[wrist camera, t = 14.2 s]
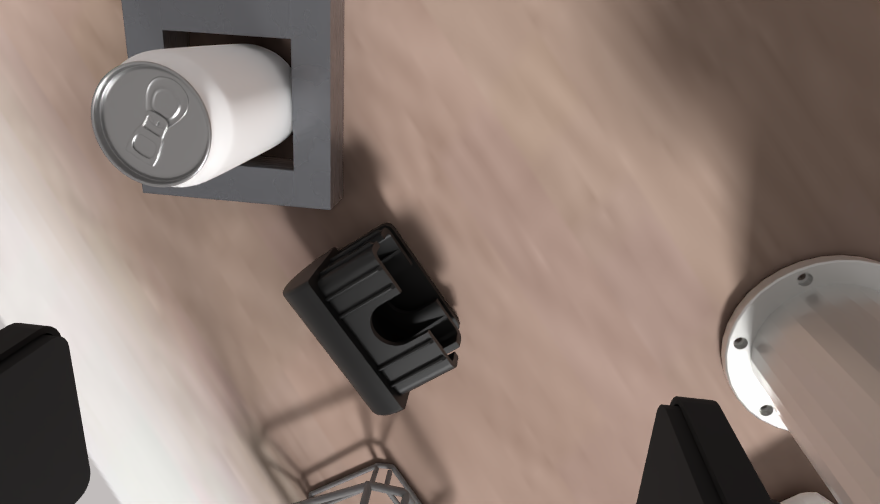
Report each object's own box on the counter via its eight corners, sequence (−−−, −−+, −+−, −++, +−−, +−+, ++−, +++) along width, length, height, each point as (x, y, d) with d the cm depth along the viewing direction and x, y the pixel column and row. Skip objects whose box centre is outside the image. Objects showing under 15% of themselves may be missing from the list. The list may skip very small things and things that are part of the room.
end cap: (302, 264, 42) (266, 306, 36) (385, 213, 40) (362, 247, 34) (384, 374, 45) (364, 431, 38) (466, 330, 43) (459, 383, 37)
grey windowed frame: (345, -204, 33) (330, -225, 30) (342, 197, 40) (330, 209, 38) (130, -212, 33) (95, -234, 31) (167, 181, 41) (143, 192, 38)
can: (322, 82, 38) (244, 106, 27) (275, 167, 40) (185, 222, 29) (231, 21, 37) (111, 19, 26) (189, 111, 39) (61, 145, 28)
